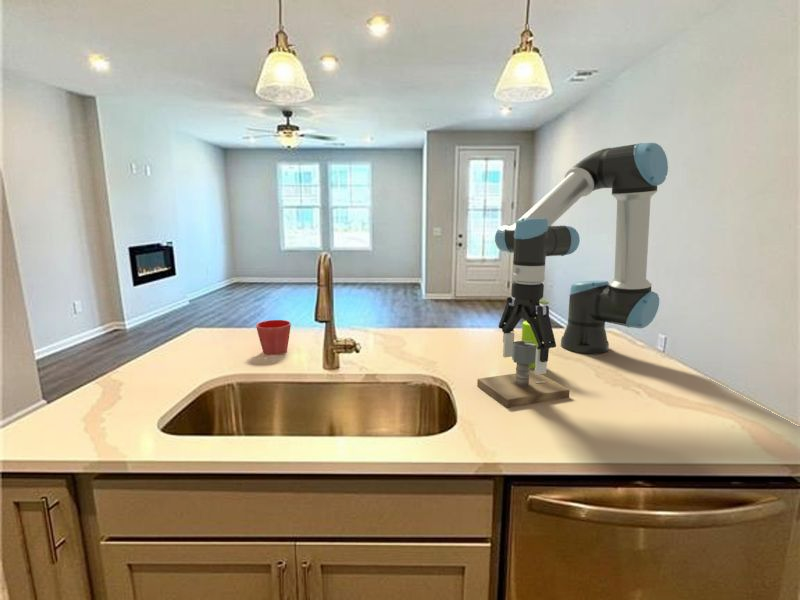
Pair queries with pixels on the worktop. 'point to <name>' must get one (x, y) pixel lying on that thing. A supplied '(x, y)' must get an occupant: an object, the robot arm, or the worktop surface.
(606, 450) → the worktop surface
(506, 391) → the wooden board with bolt
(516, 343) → the knob
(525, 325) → the soap dispenser
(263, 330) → the flower pot
